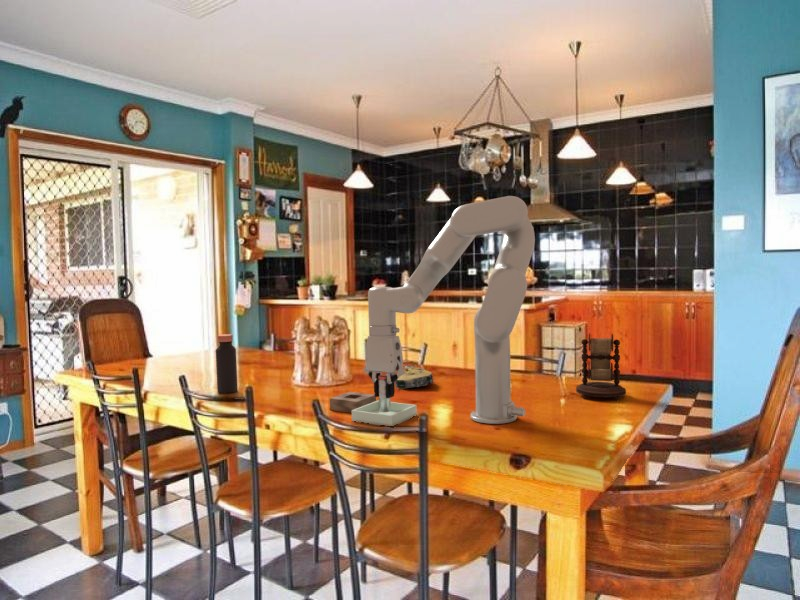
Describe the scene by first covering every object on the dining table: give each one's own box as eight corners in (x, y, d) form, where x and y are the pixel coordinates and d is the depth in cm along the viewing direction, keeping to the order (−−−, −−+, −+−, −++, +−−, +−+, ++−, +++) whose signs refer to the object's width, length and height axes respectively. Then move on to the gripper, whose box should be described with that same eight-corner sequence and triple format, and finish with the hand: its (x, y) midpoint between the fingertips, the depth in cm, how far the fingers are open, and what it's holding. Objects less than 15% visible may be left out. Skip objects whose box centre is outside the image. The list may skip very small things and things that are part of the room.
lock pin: (392, 410, 160) (391, 374, 159) (386, 412, 157) (385, 377, 157) (383, 408, 162) (382, 374, 161) (376, 411, 159) (375, 376, 158)
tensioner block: (376, 406, 174) (375, 394, 174) (356, 413, 165) (356, 401, 165) (350, 402, 179) (349, 391, 179) (329, 409, 171) (329, 398, 171)
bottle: (231, 394, 196) (229, 336, 195) (213, 393, 197) (211, 336, 196) (241, 389, 203) (238, 333, 201) (223, 389, 204) (221, 333, 203)
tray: (416, 415, 162) (416, 405, 162) (391, 427, 151) (391, 416, 151) (378, 410, 169) (378, 400, 169) (351, 421, 158) (351, 410, 157)
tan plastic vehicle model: (431, 358, 222) (432, 372, 193) (434, 372, 223) (435, 389, 193) (396, 364, 223) (391, 379, 193) (398, 378, 224) (394, 396, 194)
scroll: (624, 392, 184) (624, 330, 183) (627, 403, 170) (627, 336, 169) (576, 390, 189) (576, 330, 188) (576, 400, 175) (575, 335, 174)
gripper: (414, 330, 157) (416, 396, 158) (366, 328, 166) (368, 391, 167) (400, 334, 151) (402, 402, 152) (350, 331, 159) (352, 396, 161)
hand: (384, 395), depth 159 cm, fingers closed on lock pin, 3 cm apart
